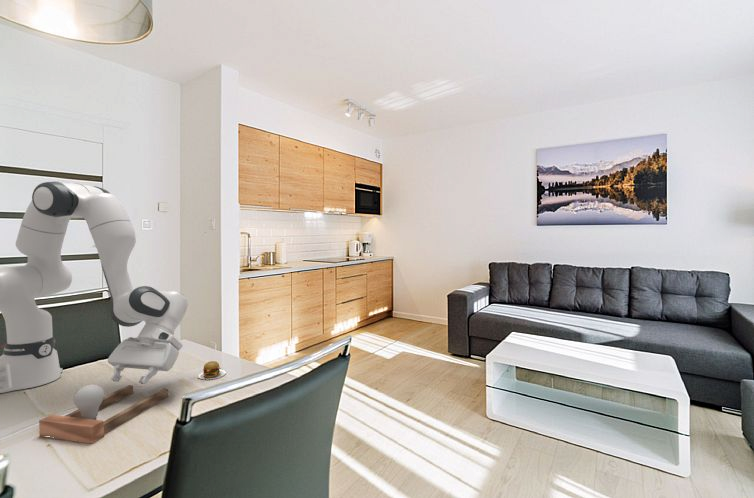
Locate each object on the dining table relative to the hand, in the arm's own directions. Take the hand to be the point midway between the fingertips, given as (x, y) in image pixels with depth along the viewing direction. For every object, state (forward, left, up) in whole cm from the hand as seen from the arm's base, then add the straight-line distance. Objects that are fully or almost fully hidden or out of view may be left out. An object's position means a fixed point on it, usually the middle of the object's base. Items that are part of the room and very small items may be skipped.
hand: (128, 382), depth 105 cm
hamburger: (+10, +25, -8) cm, 28 cm away
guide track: (0, -5, -7) cm, 9 cm away
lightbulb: (+1, -12, -7) cm, 14 cm away
